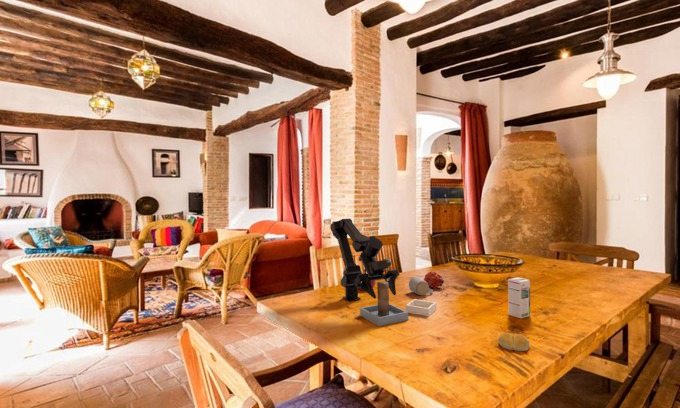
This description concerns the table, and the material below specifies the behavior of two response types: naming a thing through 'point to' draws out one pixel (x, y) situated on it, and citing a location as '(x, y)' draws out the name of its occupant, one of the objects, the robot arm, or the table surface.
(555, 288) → the table surface
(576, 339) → the table surface
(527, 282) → the syrup box
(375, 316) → the tray
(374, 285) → the pomegranate
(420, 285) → the ceramic mug
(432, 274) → the dragon fruit
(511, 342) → the bread roll
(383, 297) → the pepper mill
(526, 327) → the table surface
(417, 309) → the holder
